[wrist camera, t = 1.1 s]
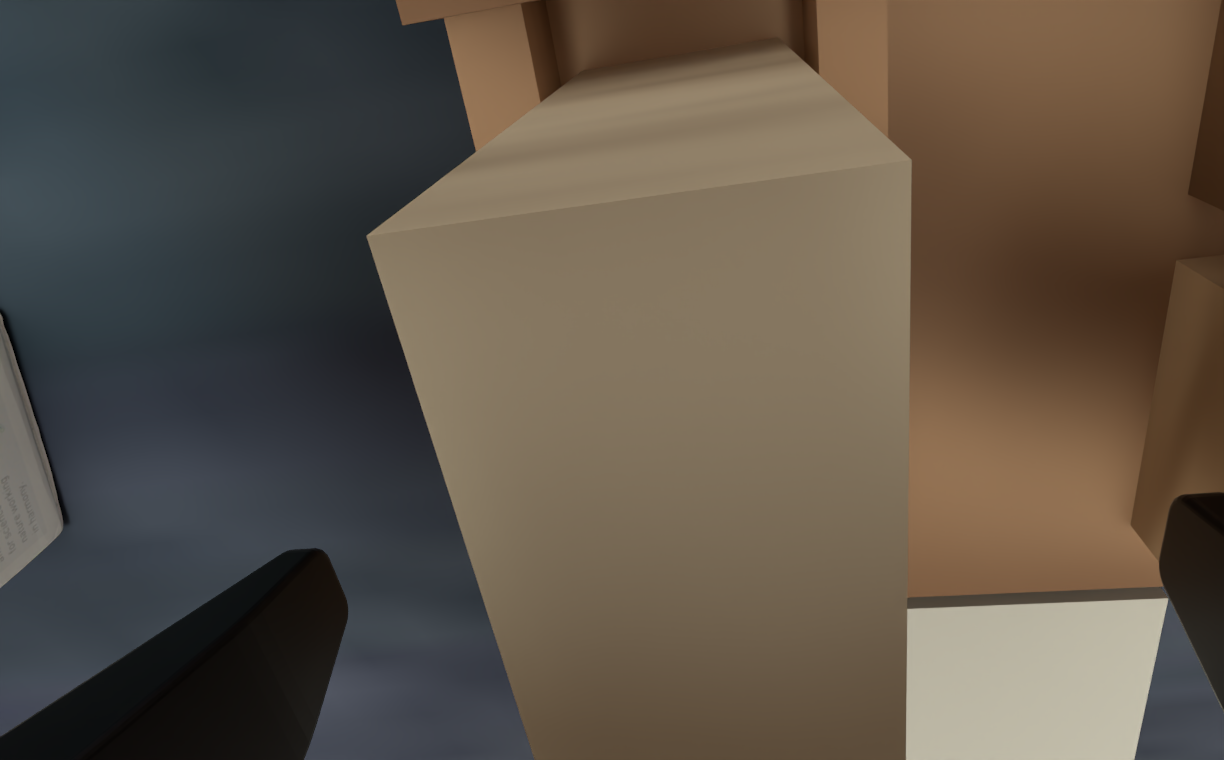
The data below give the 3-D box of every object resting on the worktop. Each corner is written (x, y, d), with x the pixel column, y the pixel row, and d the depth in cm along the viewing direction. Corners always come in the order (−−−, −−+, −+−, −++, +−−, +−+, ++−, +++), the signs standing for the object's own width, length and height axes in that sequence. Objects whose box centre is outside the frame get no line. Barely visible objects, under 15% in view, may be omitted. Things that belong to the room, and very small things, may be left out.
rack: (1402, 552, 14) (1563, 686, 11) (602, 590, 17) (583, 706, 14) (1740, -331, 8) (2209, -469, 6) (455, -63, 11) (377, -74, 8)
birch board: (809, 542, 15) (902, 1065, 8) (665, 551, 15) (627, 1050, 8) (777, 37, 11) (911, 160, 4) (582, 70, 11) (366, 237, 4)
